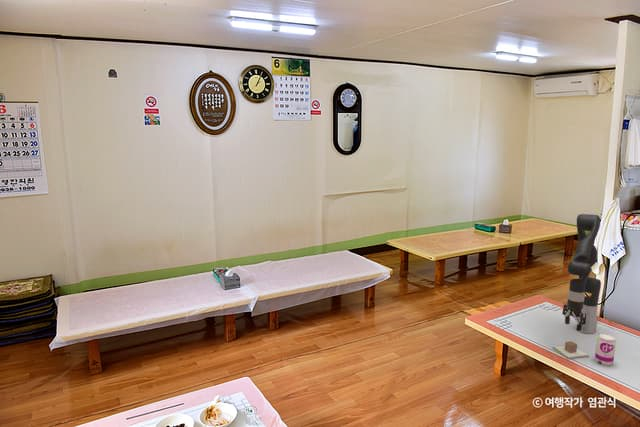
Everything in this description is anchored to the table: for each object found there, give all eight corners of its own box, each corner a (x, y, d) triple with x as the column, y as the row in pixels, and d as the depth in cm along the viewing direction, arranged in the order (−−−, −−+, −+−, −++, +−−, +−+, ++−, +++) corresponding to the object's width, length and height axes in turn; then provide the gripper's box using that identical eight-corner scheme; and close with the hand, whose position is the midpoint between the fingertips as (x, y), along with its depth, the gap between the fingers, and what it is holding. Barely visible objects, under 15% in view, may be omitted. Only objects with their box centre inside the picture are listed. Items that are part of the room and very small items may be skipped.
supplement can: (613, 369, 227) (616, 342, 224) (594, 364, 231) (597, 338, 228) (612, 362, 234) (616, 335, 231) (594, 357, 238) (597, 331, 235)
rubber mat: (572, 347, 250) (572, 345, 249) (589, 358, 237) (589, 357, 237) (551, 349, 247) (551, 347, 247) (567, 361, 235) (568, 359, 235)
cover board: (571, 346, 248) (572, 337, 247) (586, 356, 238) (587, 347, 237) (554, 348, 246) (555, 339, 245) (568, 358, 236) (569, 349, 235)
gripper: (592, 303, 230) (588, 332, 233) (572, 293, 244) (569, 321, 247) (579, 304, 229) (576, 333, 232) (560, 294, 242) (557, 322, 245)
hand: (572, 327), depth 239 cm, fingers open, 8 cm apart
